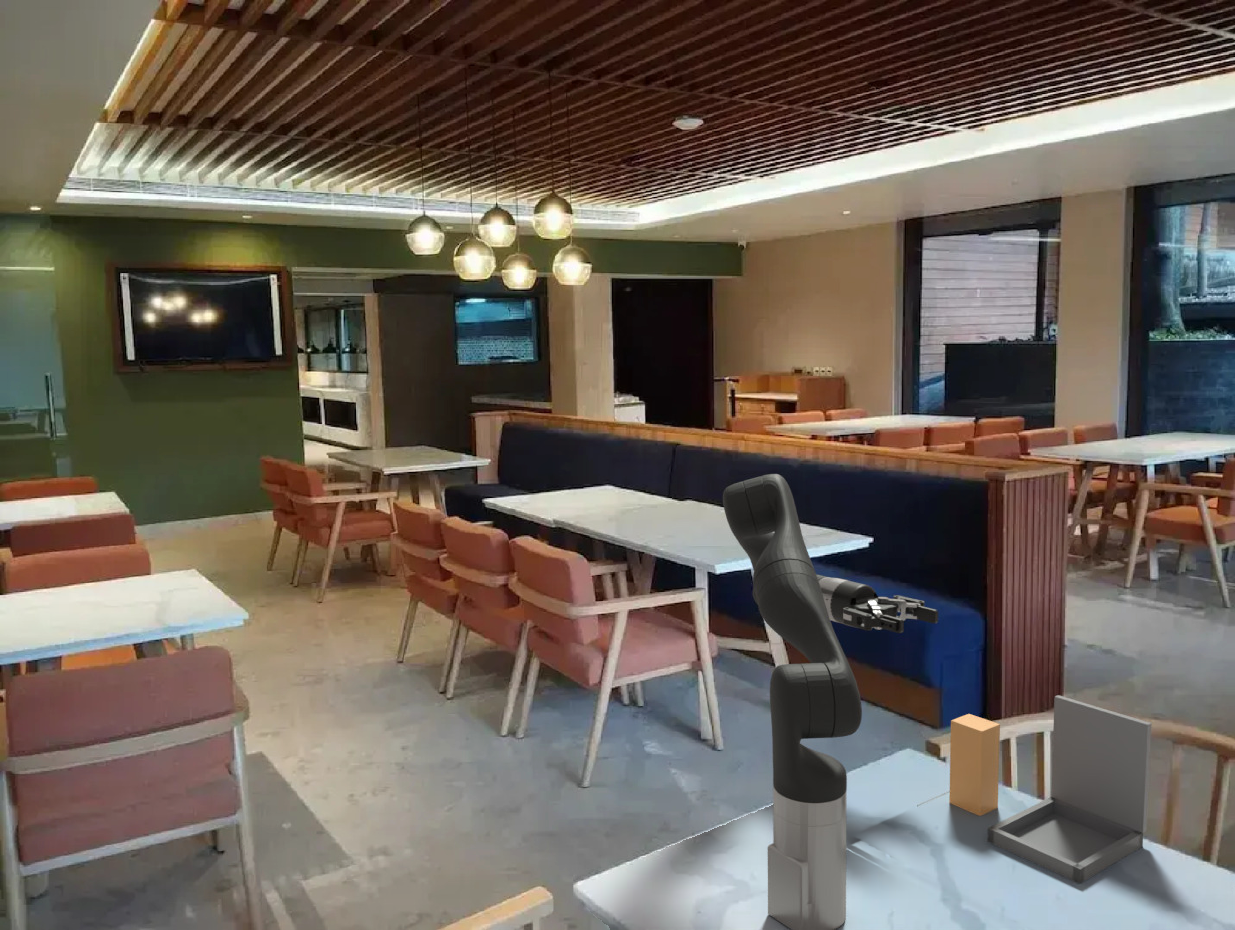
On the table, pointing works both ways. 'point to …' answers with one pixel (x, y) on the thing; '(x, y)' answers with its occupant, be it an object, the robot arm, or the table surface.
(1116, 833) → the case
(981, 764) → the block
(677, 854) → the table surface
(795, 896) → the robot arm
